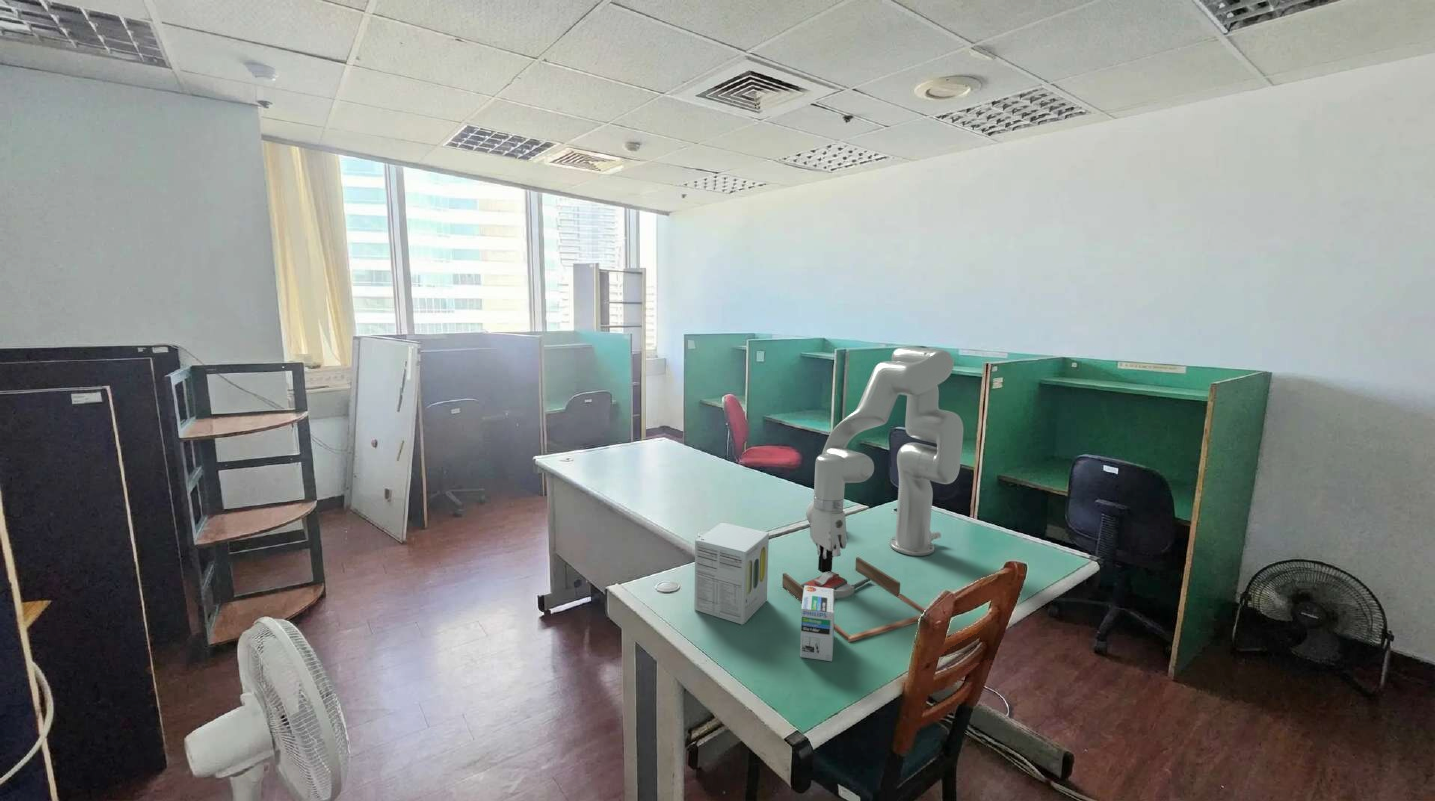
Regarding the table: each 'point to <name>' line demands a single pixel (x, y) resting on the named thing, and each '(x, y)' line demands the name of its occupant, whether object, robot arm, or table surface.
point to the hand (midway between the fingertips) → (824, 570)
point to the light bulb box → (817, 623)
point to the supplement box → (731, 572)
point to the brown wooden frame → (876, 577)
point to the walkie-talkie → (835, 584)
